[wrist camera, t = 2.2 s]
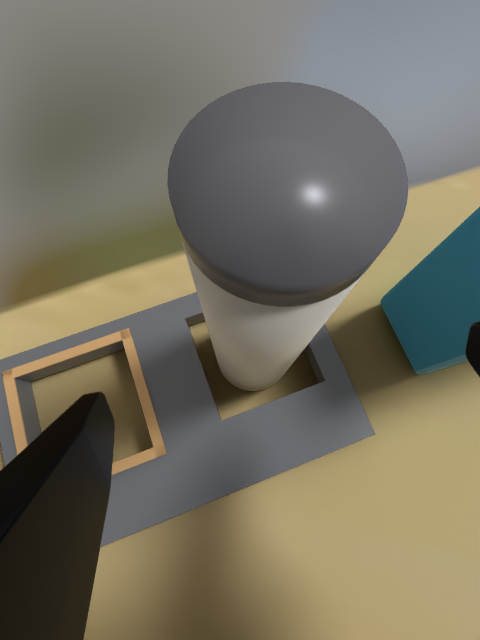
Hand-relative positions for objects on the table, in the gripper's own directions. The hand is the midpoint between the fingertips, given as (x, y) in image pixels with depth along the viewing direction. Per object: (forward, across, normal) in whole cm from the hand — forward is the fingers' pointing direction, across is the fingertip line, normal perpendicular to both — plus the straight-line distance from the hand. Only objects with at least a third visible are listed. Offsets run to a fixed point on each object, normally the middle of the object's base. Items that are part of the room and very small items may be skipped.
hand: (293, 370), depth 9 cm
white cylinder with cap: (+10, 0, +6) cm, 12 cm away
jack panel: (+9, +4, +7) cm, 12 cm away
